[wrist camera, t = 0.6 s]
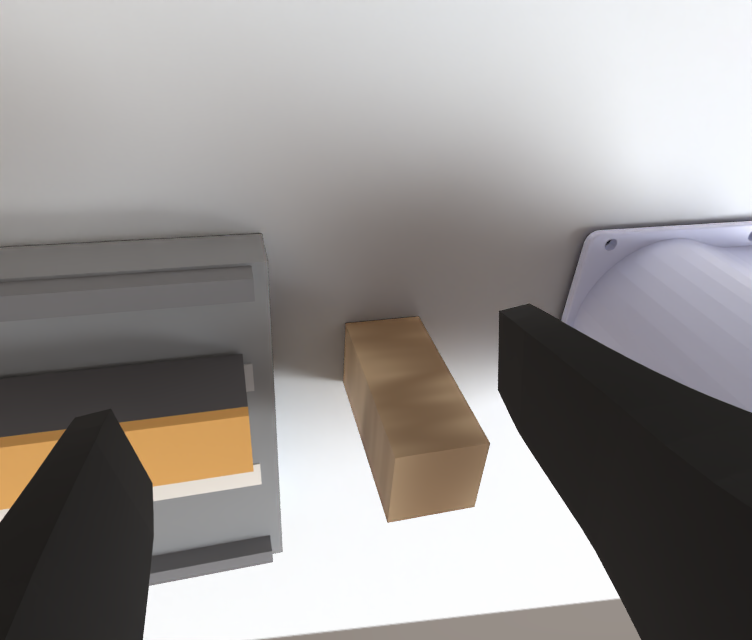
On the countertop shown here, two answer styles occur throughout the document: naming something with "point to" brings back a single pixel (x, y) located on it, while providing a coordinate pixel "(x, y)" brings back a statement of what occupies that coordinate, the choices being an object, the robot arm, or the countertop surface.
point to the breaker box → (161, 344)
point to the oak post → (412, 419)
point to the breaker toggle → (133, 418)
